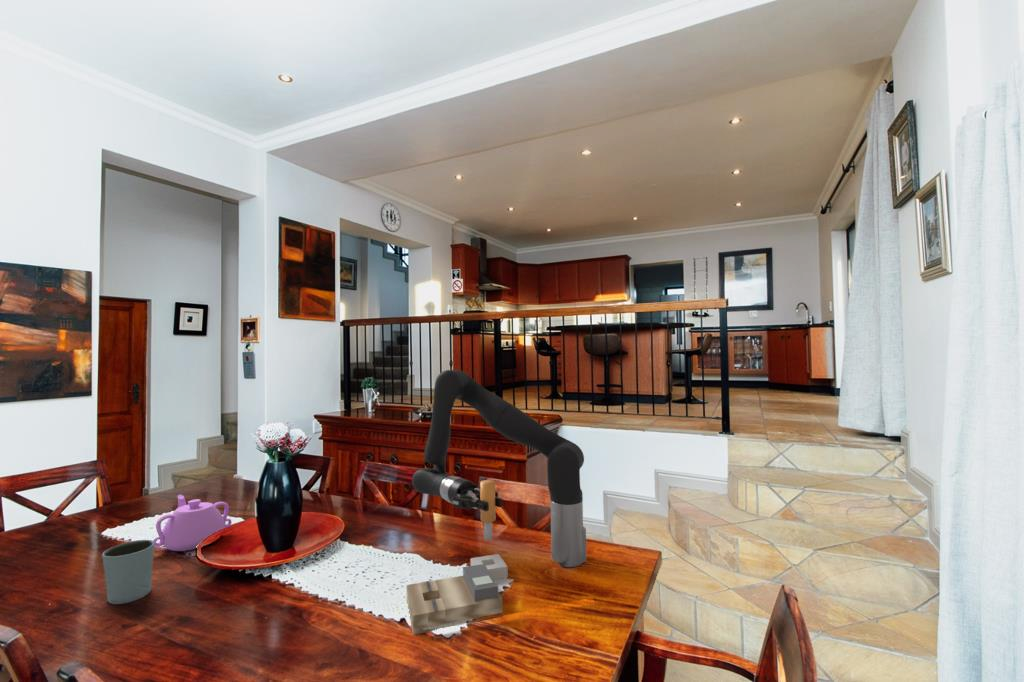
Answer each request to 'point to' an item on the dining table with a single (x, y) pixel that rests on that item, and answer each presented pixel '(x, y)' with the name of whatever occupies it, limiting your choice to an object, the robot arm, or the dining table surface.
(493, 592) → the block
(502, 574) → the awl stand
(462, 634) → the dining table surface
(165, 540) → the teapot
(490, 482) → the awl
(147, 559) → the grey cup
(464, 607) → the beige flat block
